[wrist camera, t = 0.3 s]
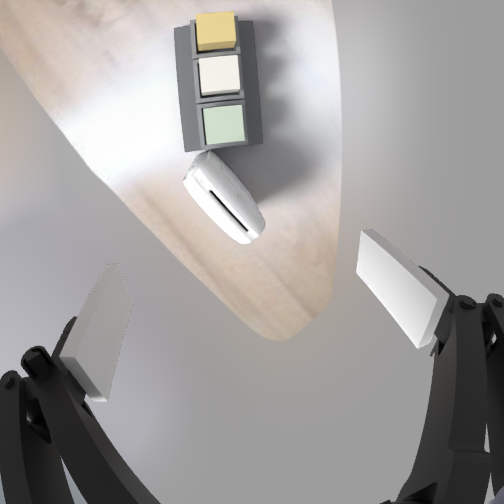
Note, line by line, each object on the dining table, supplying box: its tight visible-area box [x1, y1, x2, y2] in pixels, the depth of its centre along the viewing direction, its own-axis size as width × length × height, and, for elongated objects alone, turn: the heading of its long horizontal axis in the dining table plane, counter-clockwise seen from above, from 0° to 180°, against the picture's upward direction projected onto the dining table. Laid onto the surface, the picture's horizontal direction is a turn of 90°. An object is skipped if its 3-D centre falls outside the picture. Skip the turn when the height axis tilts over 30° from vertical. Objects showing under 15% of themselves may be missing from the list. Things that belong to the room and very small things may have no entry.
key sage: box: [203, 105, 245, 145], centre depth 27 cm, size 4×4×3 cm
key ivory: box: [199, 55, 240, 96], centre depth 25 cm, size 4×4×3 cm
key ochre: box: [196, 11, 236, 51], centre depth 22 cm, size 4×4×3 cm
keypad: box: [174, 16, 263, 152], centre depth 28 cm, size 18×10×4 cm, turn 4°
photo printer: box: [183, 150, 265, 244], centre depth 31 cm, size 10×4×12 cm, turn 38°
